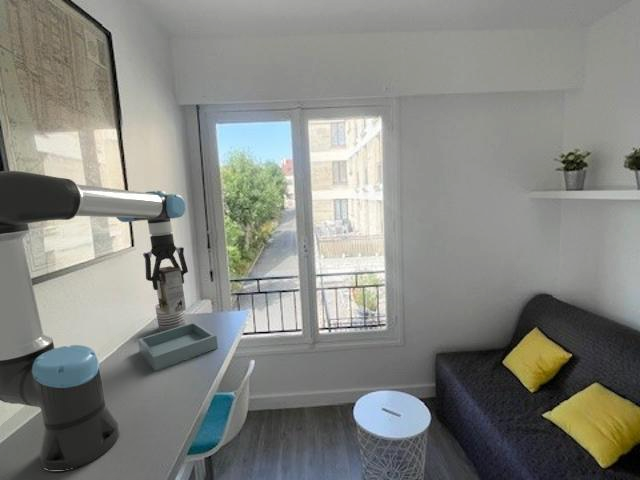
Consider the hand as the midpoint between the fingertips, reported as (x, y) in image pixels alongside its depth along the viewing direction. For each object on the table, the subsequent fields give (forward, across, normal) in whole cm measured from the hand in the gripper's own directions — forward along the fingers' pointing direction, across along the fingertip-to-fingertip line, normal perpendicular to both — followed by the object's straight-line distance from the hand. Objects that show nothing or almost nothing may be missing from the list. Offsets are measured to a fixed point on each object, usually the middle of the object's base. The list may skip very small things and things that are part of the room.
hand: (170, 295), depth 128 cm
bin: (+22, 0, 0) cm, 22 cm away
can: (+22, -6, -27) cm, 35 cm away
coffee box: (+6, 0, 0) cm, 6 cm away
